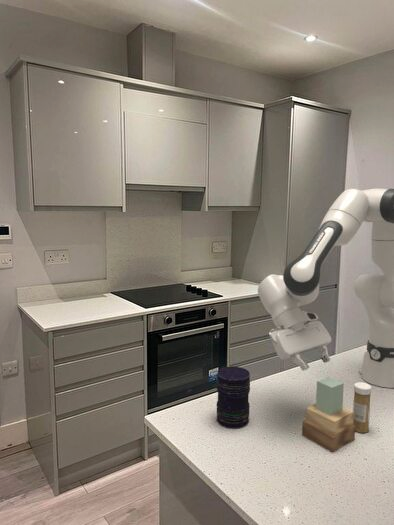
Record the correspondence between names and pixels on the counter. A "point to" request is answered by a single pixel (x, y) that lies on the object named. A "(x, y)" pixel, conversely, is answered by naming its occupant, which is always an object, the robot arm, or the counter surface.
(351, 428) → the walnut block
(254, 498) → the counter surface
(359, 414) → the sprinkles bottle
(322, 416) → the oak block
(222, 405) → the storage jar
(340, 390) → the sage block
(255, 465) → the counter surface
